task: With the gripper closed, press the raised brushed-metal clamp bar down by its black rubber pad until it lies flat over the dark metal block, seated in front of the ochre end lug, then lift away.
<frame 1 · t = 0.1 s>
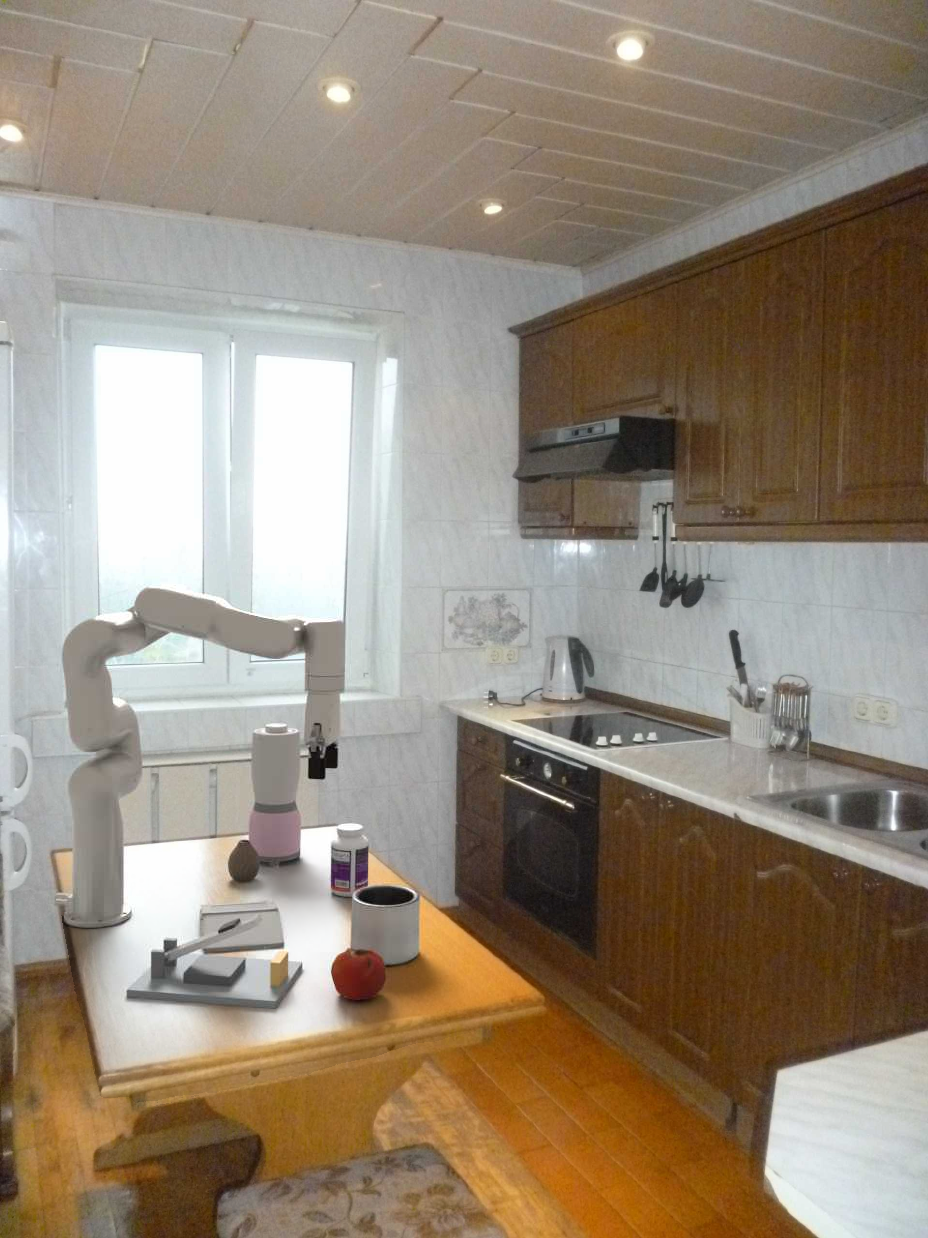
hand: (323, 773, 197), 31 cm above the table, fingers open, 9 cm apart
pill bottle: (349, 893, 223), on the table
vase: (243, 880, 229), on the table
planter: (384, 955, 190), on the table
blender: (278, 858, 246), on the table
clamp bar: (208, 938, 175), point 8 cm above the table, hinge at 25.0°
tomato: (358, 997, 172), on the table
gadget: (240, 931, 201), on the table
clamp base: (217, 982, 176), on the table
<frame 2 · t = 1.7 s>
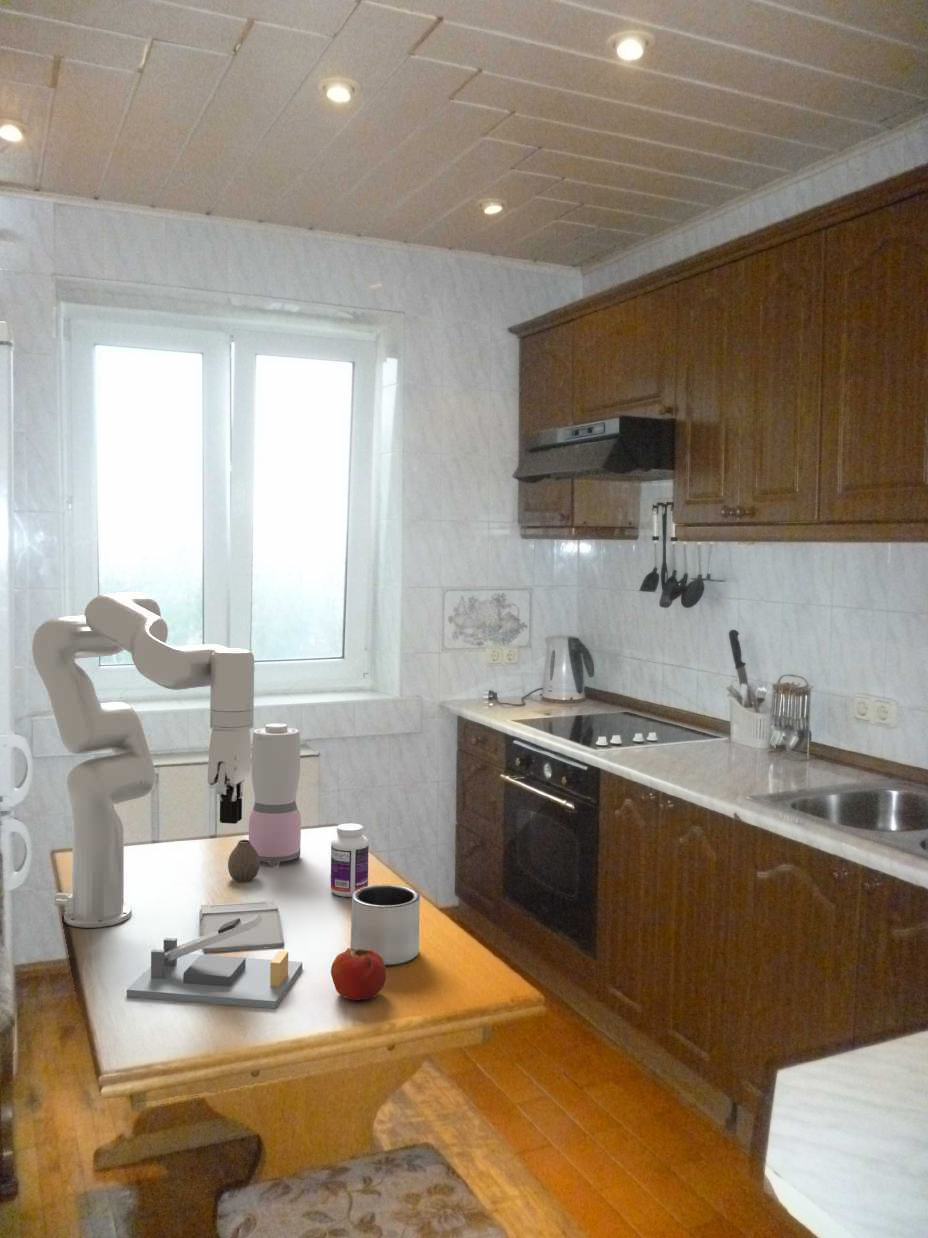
hand: (230, 821, 184), 25 cm above the table, fingers closed
nothing on the table moved.
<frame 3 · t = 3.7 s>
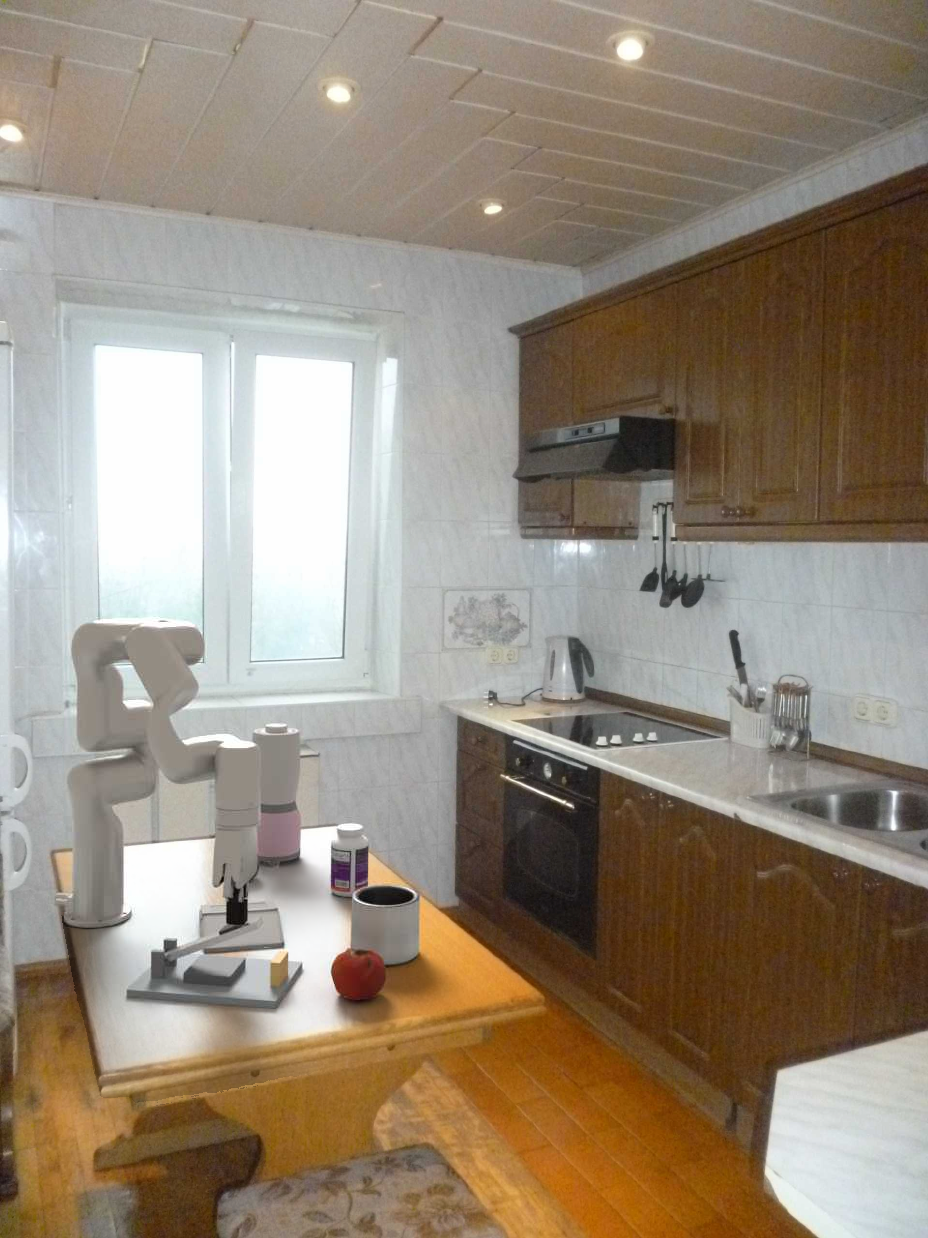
hand: (236, 923, 175), 11 cm above the table, fingers closed
clamp bar: (209, 939, 175), point 7 cm above the table, hinge at 23.6°, touching gripper
everything else where it was.
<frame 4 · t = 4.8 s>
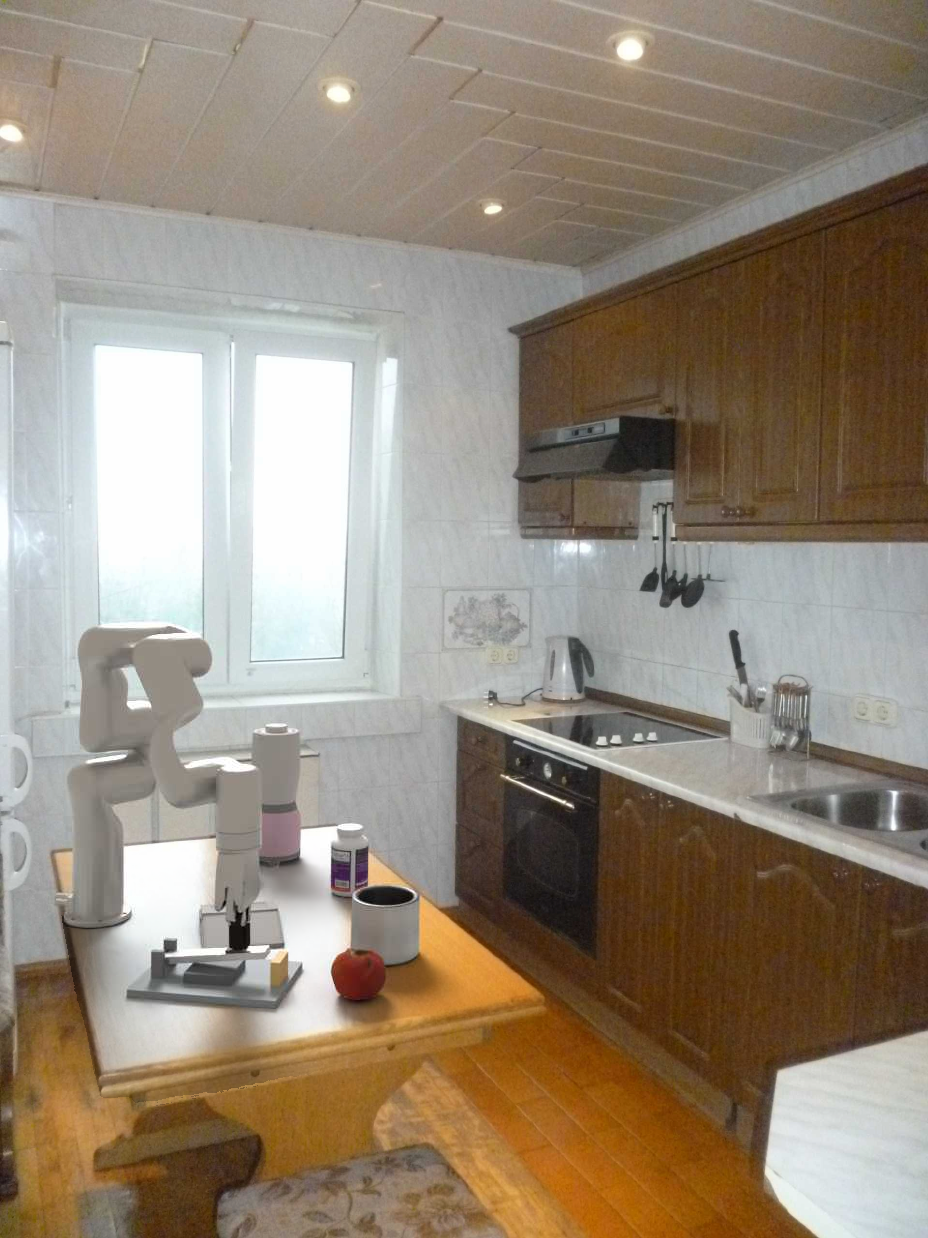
hand: (239, 947, 174), 7 cm above the table, fingers closed
clamp bar: (213, 953, 175), point 5 cm above the table, hinge at 7.1°, touching gripper
everything else where it was.
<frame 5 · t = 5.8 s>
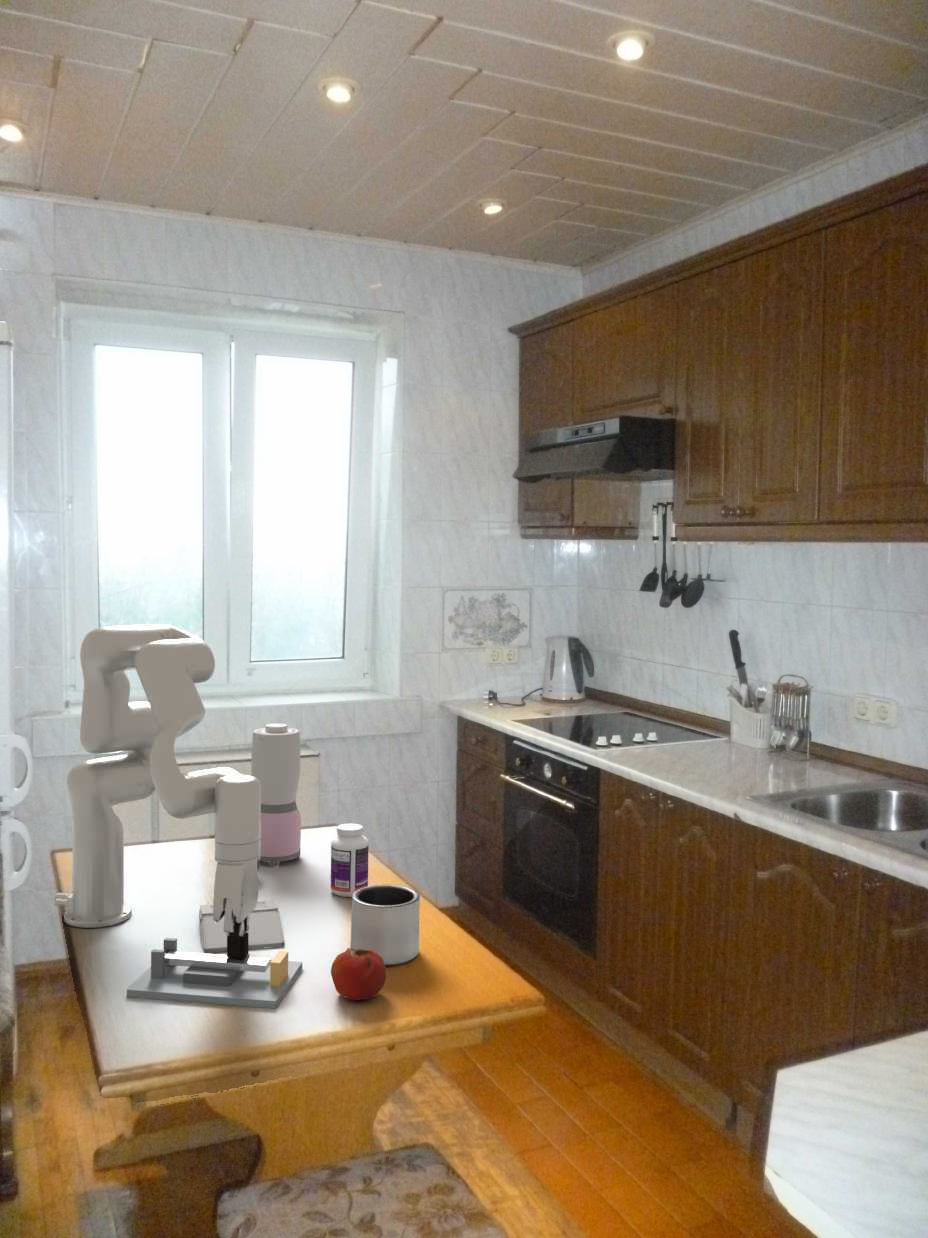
hand: (237, 956, 175), 5 cm above the table, fingers closed
clamp bar: (213, 960, 176), point 4 cm above the table, hinge at -0.1°, touching gripper
everything else where it was.
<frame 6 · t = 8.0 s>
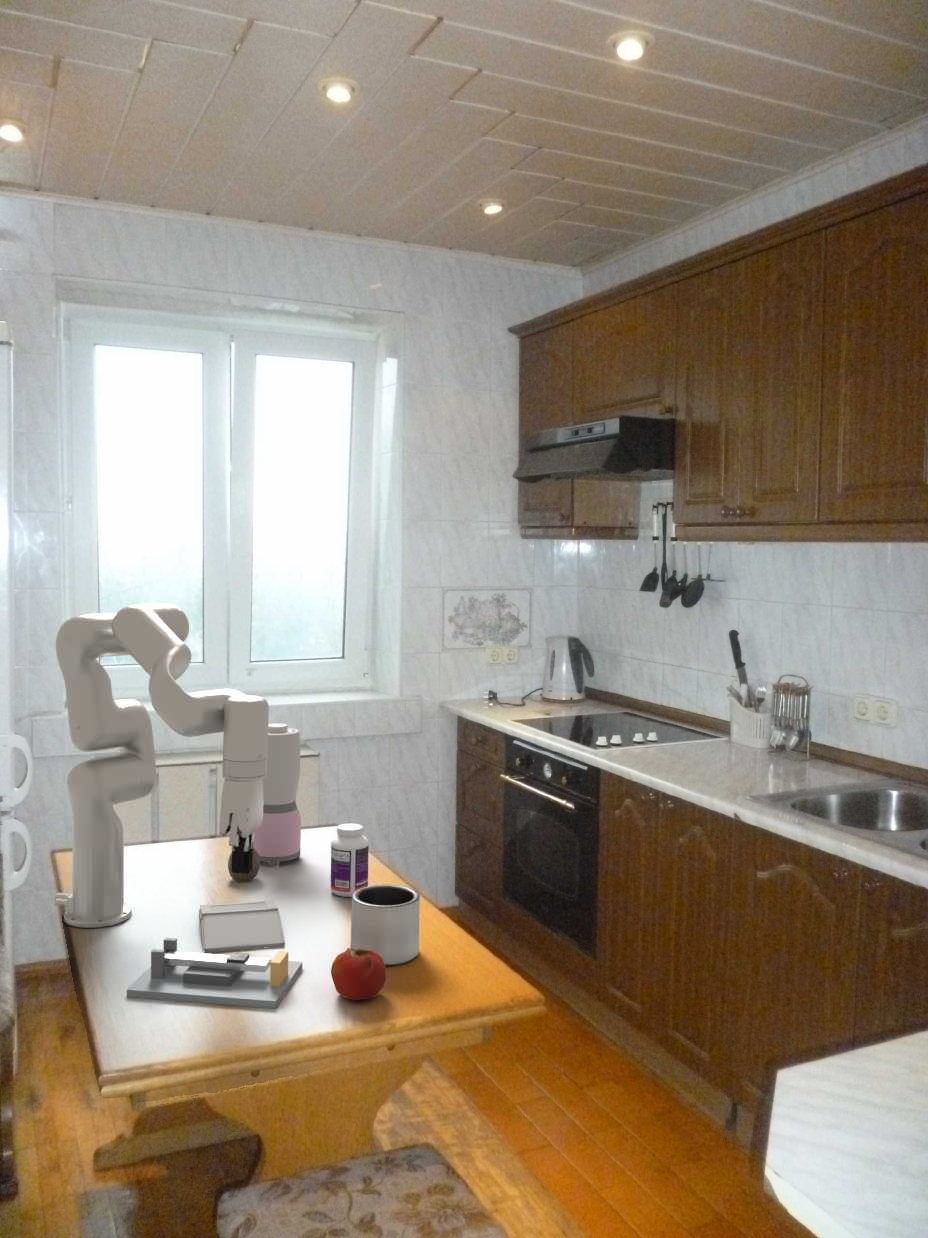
hand: (241, 871, 180), 18 cm above the table, fingers closed
clamp bar: (213, 960, 176), point 4 cm above the table, hinge at -0.1°
everything else where it was.
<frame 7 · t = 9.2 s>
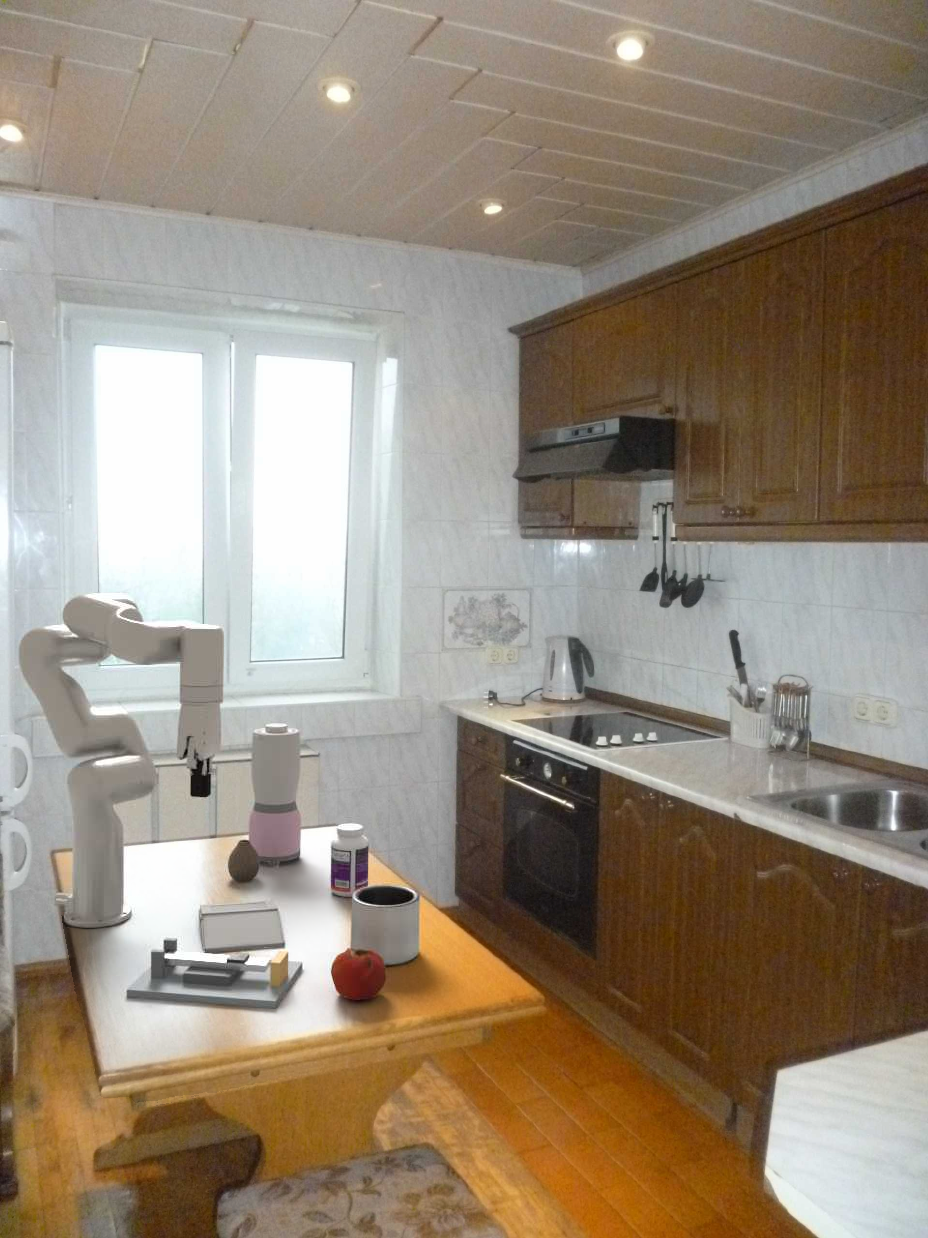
hand: (200, 795, 185), 29 cm above the table, fingers closed
nothing on the table moved.
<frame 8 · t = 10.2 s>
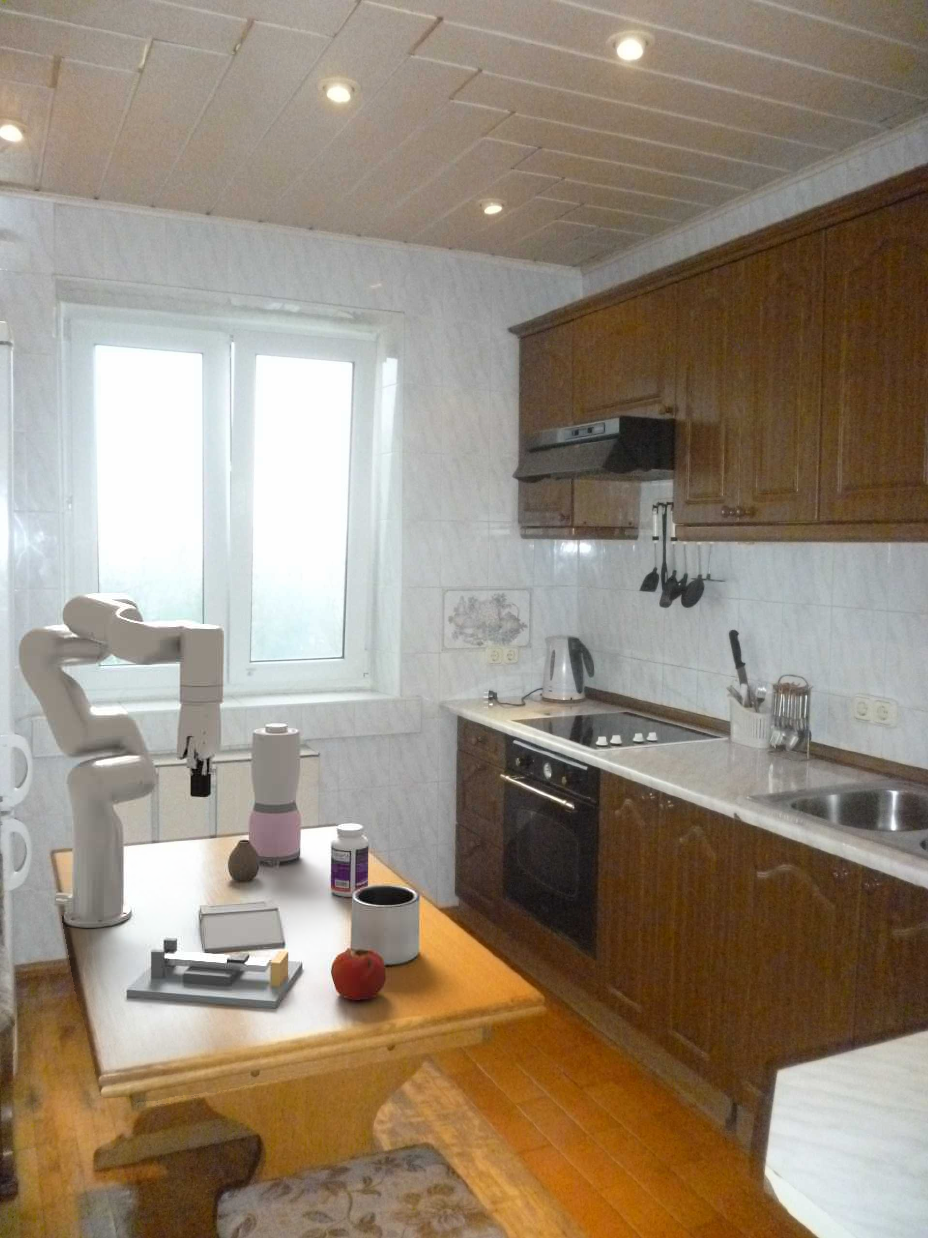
hand: (200, 795, 185), 29 cm above the table, fingers closed
nothing on the table moved.
at the end: clamp bar at +0° (first picture: +25°); clamp bar touching nothing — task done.
